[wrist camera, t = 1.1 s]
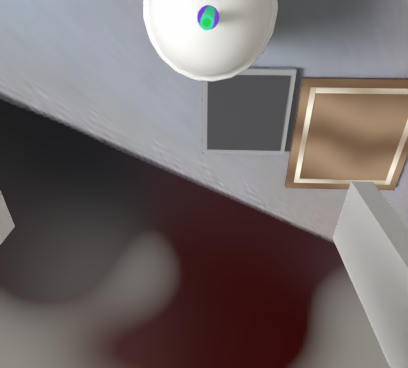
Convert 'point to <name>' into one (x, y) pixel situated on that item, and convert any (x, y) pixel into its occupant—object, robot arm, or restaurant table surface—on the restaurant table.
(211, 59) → the smoothie
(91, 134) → the restaurant table surface
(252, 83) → the ink pad
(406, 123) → the board
